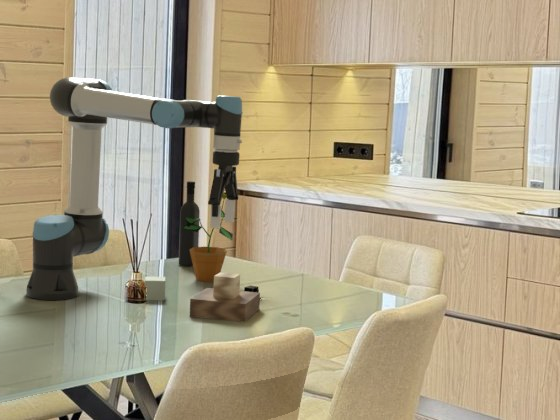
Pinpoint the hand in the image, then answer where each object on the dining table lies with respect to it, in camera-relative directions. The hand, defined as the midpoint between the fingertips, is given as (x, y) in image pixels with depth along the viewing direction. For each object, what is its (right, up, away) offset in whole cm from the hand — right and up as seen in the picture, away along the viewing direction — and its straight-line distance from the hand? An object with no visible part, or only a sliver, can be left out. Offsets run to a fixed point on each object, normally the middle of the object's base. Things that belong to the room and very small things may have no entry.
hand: (222, 225), depth 274 cm
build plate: (+8, -24, +19) cm, 31 cm away
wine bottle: (-17, -16, +71) cm, 75 cm away
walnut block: (+1, -25, 0) cm, 25 cm away
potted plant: (-8, -19, +47) cm, 51 cm away
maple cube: (+1, -20, 0) cm, 20 cm away
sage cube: (-21, -22, +15) cm, 34 cm away
